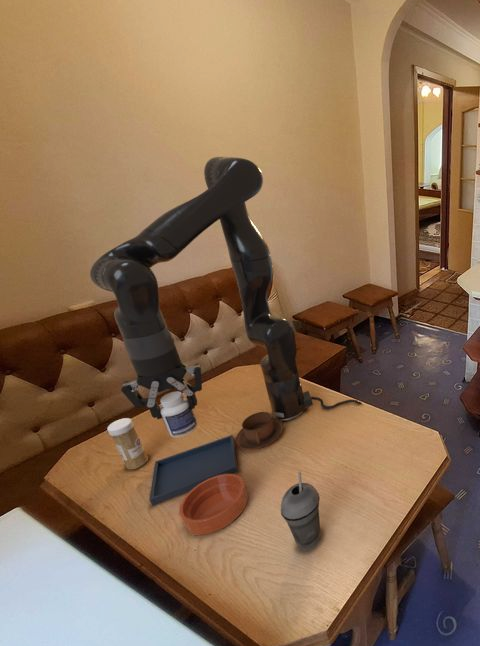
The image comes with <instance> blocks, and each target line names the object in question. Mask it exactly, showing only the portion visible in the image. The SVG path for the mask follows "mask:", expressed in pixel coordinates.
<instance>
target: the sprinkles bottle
mask: <svg viewBox="0 0 480 646" xmlns="http://www.w3.org/2000/svg"><path fill="white" fill-rule="evenodd" d="M106 430H107V432H108V434H109V436H110V437H111V438H112V440H113V442H114V445H115V447H116V449H117V452H118V454H119V455H120V457H121V459H122V460H123V462H124V464H125V468H126V469H128V470H136V469H138V468H140V467H142V466H144V465H145V464H146V463H147V462H148V461H149V456H148V455H147V453H146V451H145V448H144V447H145V446H144V445H143V443H142V441H141V438H139V435H138V433H137V431H136V429H135V426H134V422H133V420H132V419H131V418H129V417H124V418H120V419H118V420H115V421H113V422H111V423H110V424H109V425H108V426H107V428H106Z"/></svg>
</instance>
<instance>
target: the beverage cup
mask: <svg viewBox="0 0 480 646" xmlns="http://www.w3.org/2000/svg"><path fill="white" fill-rule="evenodd" d="M297 474H298V483H295V484H294V485H292V486H291V487H289V488H288V489H287V490H286V491H285V492H284V494H283V496H282V498H281V502H280V515H281V517H282V518H283V519H284V521H285V522H286V523H287V526H288V528H289V530H290V532H291V534H292V537H293V539H294V542H295V544H296V545H297V547H298V549H299V550H300V551H302V552H308V551H311V550H314V548H316V547H317V545H318V544H319V543H320V541H321V521H320V520H321V519H320V510H319V507H320V500H321V499H320V497H321V496H320V493H319V492H318V490H317V489H316V487H314V485H313V484H310V483H308V482H303V481H302V472H300V471H299V472H298V473H297Z"/></svg>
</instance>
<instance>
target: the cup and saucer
mask: <svg viewBox="0 0 480 646" xmlns="http://www.w3.org/2000/svg"><path fill="white" fill-rule="evenodd" d="M241 426H242V428H241V429H240V430H239V432H238V433H237V435H236V437H235V443H236V444H237V446H238V447H240V448H241V449H242V450H258V449H261V448H264V447H266V446H267V447H268V446H269V445H270V444H272V443H273V442H275V441H276V440H277V439H278V438H279V437H280V436H281V434H282V433H283V430H284V423H283V421H280V420H279V419H276V418H273V415H272V414H271V413H269V412H267V411H260V412H254V413H253V414H250V415H249V416H247V417H246V418H245V419H244V420H243V421H242V422H241Z"/></svg>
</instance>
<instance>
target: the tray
mask: <svg viewBox="0 0 480 646" xmlns="http://www.w3.org/2000/svg"><path fill="white" fill-rule="evenodd" d="M235 443H236V442H235V439H234V435H233V434H231V435H227V436H225V437H222V438H219V439H216V440H213V441H210V442H207V443H205V444H201V445H199V446H196V447H193V448H190V449H188V450H185V451H182V452H179V453H175V454H172V455H170V456H167V457H164V458H161V459H158V460H156V461H154V467H153V473H152V482H151V488H150V493H149V494H150V495H149V502H150V504H151V506H152V507H154V506H156V505H159V504H161V503H165V502H166V501H168V500H171V499H174V498H176V497H179V496H181V495H184V494H186V493H189V492H190V491H191V490H192V489H193V488H195V487H196V486H197V485H198V484H200V483H202V482H203V481H205V480H207V479H209V478H212V477H214V476H217V475H222V474H237V473H238V471H239V470H238V462H237V454H236V444H235Z"/></svg>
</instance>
